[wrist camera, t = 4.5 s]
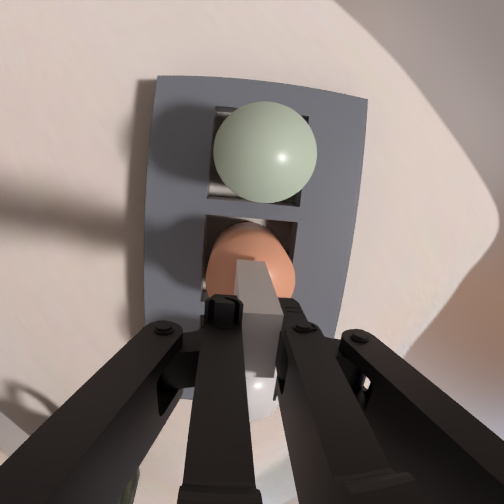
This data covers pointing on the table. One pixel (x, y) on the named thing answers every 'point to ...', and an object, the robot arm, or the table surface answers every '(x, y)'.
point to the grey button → (261, 397)
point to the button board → (201, 204)
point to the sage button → (265, 152)
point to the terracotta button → (248, 248)
